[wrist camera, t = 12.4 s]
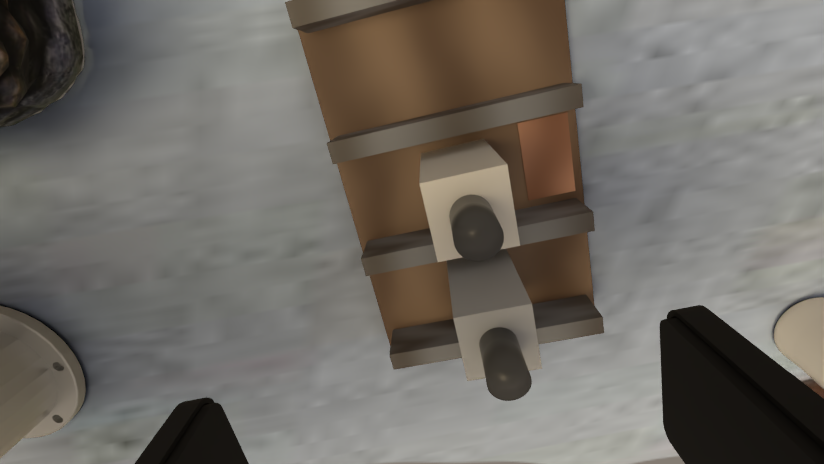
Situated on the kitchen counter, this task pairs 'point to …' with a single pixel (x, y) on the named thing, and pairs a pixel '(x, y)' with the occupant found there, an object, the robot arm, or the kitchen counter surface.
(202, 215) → the kitchen counter surface
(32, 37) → the decorative house
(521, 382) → the grey plug
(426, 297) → the wooden divided tray
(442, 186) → the cream plug
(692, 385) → the robot arm
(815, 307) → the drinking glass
